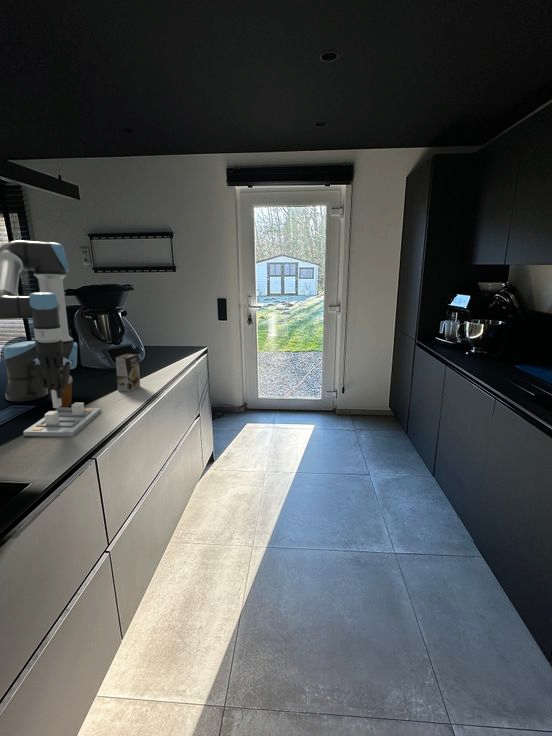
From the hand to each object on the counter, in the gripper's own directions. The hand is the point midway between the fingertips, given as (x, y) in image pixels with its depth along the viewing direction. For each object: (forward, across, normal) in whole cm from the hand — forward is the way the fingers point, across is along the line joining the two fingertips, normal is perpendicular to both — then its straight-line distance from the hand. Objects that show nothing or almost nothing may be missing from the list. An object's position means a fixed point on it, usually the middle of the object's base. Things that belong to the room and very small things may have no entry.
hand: (57, 406), depth 124 cm
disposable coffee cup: (+9, -10, +21) cm, 25 cm away
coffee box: (+9, +9, +44) cm, 46 cm away
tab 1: (+6, -2, 0) cm, 7 cm away
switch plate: (+8, 0, +4) cm, 9 cm away
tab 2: (+6, +2, +9) cm, 11 cm away
